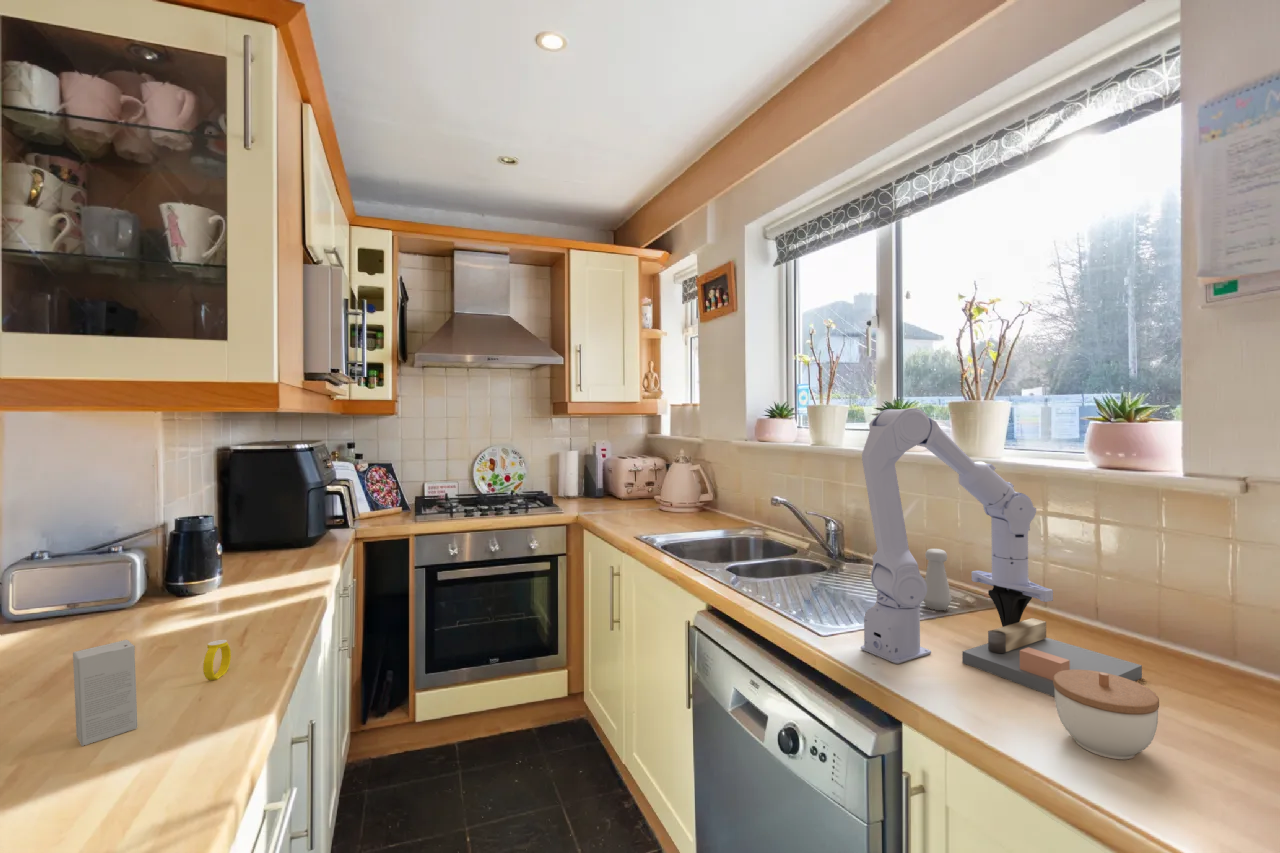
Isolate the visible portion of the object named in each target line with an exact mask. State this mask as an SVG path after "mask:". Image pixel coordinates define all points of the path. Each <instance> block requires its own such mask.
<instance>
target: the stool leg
mask: <svg viewBox="0 0 1280 853" xmlns="http://www.w3.org/2000/svg"><path fill="white" fill-rule="evenodd" d="M1046 637H1047V621H1045V620H1041V619H1037V618H1034V617H1031V618H1028V619H1024V620H1020V622H1017V623H1014V624H1011V625H1007V626H1004V627H1002V626H1001V627H998V628H994V629H991V630H988V631H987V643H988V649H989V650H990V651H992V652H995V653H1005V652H1007V651H1010V650H1013V649H1016V648H1019V647H1022V646H1025V645H1028V644H1031V643H1034V642H1037V641H1040V640H1043V639H1046Z"/></svg>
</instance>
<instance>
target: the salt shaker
mask: <svg viewBox="0 0 1280 853" xmlns="http://www.w3.org/2000/svg"><path fill="white" fill-rule="evenodd" d="M924 554H925V559H926V560H927V566H926V573H925V578H924V580H925V582H926V584H927V594H926V597H925V599H924V600H923V603H924V605H925V607H926V608H927V607H928V609H929V608H930V609H935V610H934V611H936V610H944V611H947V610H948V608H949V606H950V604H951V602H952V594H951V591H950V585H949V580H948V576H947V571H946V567H945V562H947V560H948V553H947V552H946V551H945V550H944V549H941V548H929V549H927V550H926V551H925V553H924ZM930 609H929V610H930ZM946 609H947V610H946Z"/></svg>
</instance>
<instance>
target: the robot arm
mask: <svg viewBox="0 0 1280 853" xmlns="http://www.w3.org/2000/svg"><path fill="white" fill-rule="evenodd" d="M868 427H869V432H868V434H867V438H866V442H865V444H864V447H863V450H862V454H861V461H862V466H863V467H862V468H863V473H864V480H865V484H866V489H867V490H866V491H867V496H868V497H867V498H868V503H869V508H870V515H871V519H872V520H871V521H872V525H873V533H874V538H875V544H876V551H875V552H874V554H873V555H872V558H871V559H872V568H871V570H870V571H871V572H870V581H871V584H872V586H873V587H874V589H876V601H875V604H874V605H873V606H871V607H869V608H868V609H867V610H866V611H865V613H864V617H863V640H864V641H863V644H864V645H861V646H860V649H861V650H862V651H864V652H867V653H870V654H871V655H874V656H876V657H879V658H882V659H883V660H886V661H888V662H891V663H893V664H901V663H905V662H908V661H910V660H914V659H917V658H922V657H923V656H927V655H930V654H932V650H931V649H929V648H925V647H923V646H921V614H920V613H921V612H920V611H921V603H923V602H924V599H925V597H926V594H927V584H926V582H925V578H924V577H923V575H922V574H921V573H920V569H919V563H918V562H917V560H916V559H915V557H914V556H913V554H912V553H911V551H910V547H909V541H908V536H907V535H908V534H907V528H906V524H905V518H904V517H905V516H904V512H903V505H902V500H901V494H900V493H901V492H900V488H899V487H900V486H899V481H898V475H897V469H896V463H897V462H898V461H899V460H900V459H901V458H902V456H903V455H904V454H905V453H906V452H908V451H909V450H911V449H913V448H914V447H916V446H917V447H918V446H919V447H923V448H926V449H927V450H928V451H929V452H930V453H931V454H934V455H935V456H936V457H937V458H938V459H939V460H941V461H942V462H943V463H945V464H946V465H947V466H948V467H949V468H951V469H952V471H954V472H956V473H957V475H958V483H959V485H960V486H961V487H963V489H965V490H966V491H967V492H968V493H969V494H970V495H971V496H972V497H974V498H975V499H976V500H977V501H979V503H980V504H981V505H982V507H983V510H984V512H985V514H986V515H987V516H990V517H991V518H990V519H991V522H990V523H991V526H990V527H991V529H990V530H991V533H990V534H991V572H988V571H982V570H973V571H971V581H972V582H974V583H980V584H985V585H988V586H992V587H993V588H992V589H989V590H988V596H989V598H990V599H991V601H992V602H993V603H994V606H995V609H996V612H998V616H999V619H1000V623H1001V627H1004V626H1007V625H1011V624H1014V623H1017V622H1021V619H1022V616H1023V613H1024V611H1025V609H1026V608H1027V606H1028V604H1029V603H1030V601H1031V600H1032V598H1034V599H1037V600H1039V601H1040V602H1044V603H1047V602H1052V601H1054V590H1053V589H1052V588H1047V587H1045V586H1042V585H1040V584H1038V583H1035V582H1032V581H1031V580H1030V578H1029V531H1031V528H1030V527H1031V522H1032V521H1033V520H1034V518H1035V516H1036V514H1037V508H1036V507H1034V503H1033V501H1032V499H1031V497H1030V496H1028V494H1027V495H1026V494H1025V493H1022V492H1019V491H1015V488H1014V486H1015V485H1014V484H1013V483H1012V482H1009V481H1006V480H1005V479H1004V478H1003V477H1002V476H1000V475H999V474H998V473H997V472H996V471H995V470H996V466H994V465H993V463H986V462H984V461H973V459H972V458H970V457H969V456H968V454H966V452H964V451H963V450H962V449H961V448H960V447H959V445H958V444H957V443H956V442H954V440H952V439H951V438H950V437H949V436H948V434H947V433H946V432H945V431H943V429H942V428H941V427H940V426H939V424H938V423H937V421H936V420H935V419H933V418H932V417H929V416H928V414H927V413H926V412H924V411H923V410H921V409H919V408H917V407H909V408H903V409H902V408H901V409H900V408H899V409H894V408H887V409H883V410H882V411H880V412H879V413H878V414H877V415H876V416H875V417H874V418H872V420H871V421H870V422H869V424H868Z"/></svg>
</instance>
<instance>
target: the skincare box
mask: <svg viewBox="0 0 1280 853" xmlns="http://www.w3.org/2000/svg"><path fill="white" fill-rule="evenodd" d="M135 648H136V647H135V645H134V644H133V643H132V642H130V640H128V639H123V640H119V641H115V642H111V643H108V644H107V643H106V644H103V645H97V646H93V647H90V648H85V649H82V650H80V649H79V650H78V651H77V650H76V651H73V653H72V661H73V662H72V664H73V684H74V687H73V688H74V706H75V707H74V708H75V710H74V711H75V733H76V734H75V735H76V738H77V740H78V743H79V744H80V746H81V747H84V745H85V746H88V745H90V743H91V744H93V742H94V743H96V742H97V743H98V742H100V741H103V740H105V739H106V740H107V739H109V738H111V737H115V736H117V735H121V734H123V733H127V732H130V731H134V730H136V729H137V728H138V710H137V709H138V706H137V677H136V657H135V653H136V652H135Z"/></svg>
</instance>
